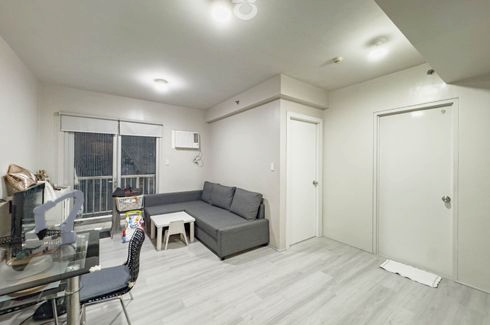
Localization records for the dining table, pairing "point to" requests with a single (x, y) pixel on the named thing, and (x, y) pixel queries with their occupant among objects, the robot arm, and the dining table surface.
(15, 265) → the dining table surface
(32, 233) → the supplement box
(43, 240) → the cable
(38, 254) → the board
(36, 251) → the mat
